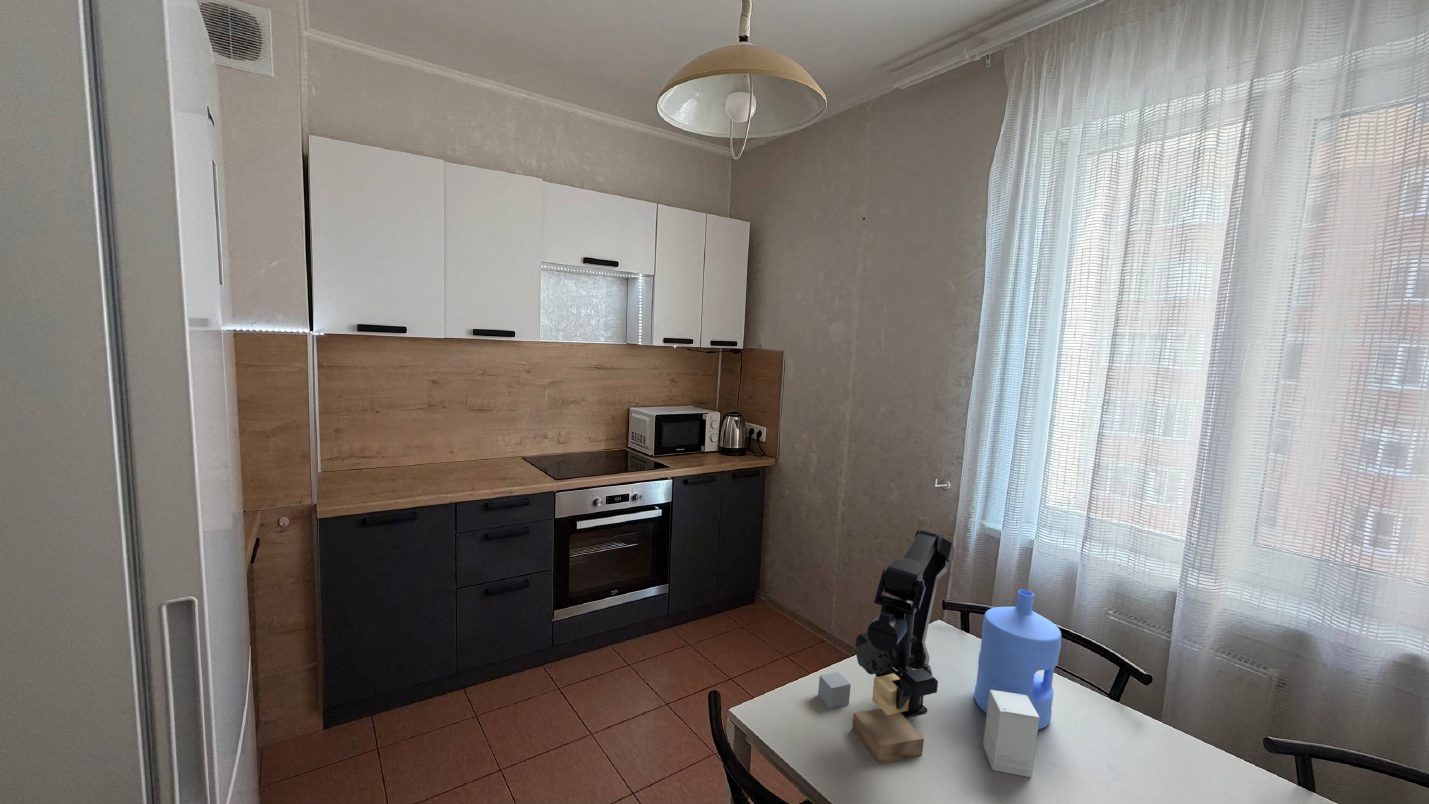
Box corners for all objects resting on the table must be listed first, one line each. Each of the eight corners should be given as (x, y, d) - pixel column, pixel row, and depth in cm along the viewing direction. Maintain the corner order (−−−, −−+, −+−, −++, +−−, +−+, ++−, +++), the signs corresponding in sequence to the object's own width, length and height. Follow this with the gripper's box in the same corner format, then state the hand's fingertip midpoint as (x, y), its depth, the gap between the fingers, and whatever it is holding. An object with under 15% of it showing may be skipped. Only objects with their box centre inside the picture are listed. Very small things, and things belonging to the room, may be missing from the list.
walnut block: (893, 723, 124) (894, 706, 124) (921, 756, 115) (923, 738, 114) (852, 730, 122) (853, 712, 121) (878, 764, 112) (879, 745, 112)
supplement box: (1032, 778, 110) (1041, 718, 109) (991, 770, 112) (999, 710, 110) (1020, 751, 118) (1028, 694, 116) (981, 744, 119) (988, 688, 117)
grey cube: (836, 691, 134) (838, 671, 134) (848, 704, 130) (850, 684, 129) (817, 695, 132) (819, 675, 132) (829, 709, 128) (831, 688, 127)
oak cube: (891, 695, 121) (894, 673, 120) (907, 710, 116) (910, 687, 115) (872, 699, 119) (874, 677, 118) (887, 715, 114) (890, 692, 113)
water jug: (975, 719, 127) (989, 599, 123) (972, 680, 141) (985, 572, 138) (1055, 741, 121) (1073, 616, 118) (1044, 699, 136) (1059, 586, 132)
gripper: (837, 612, 121) (831, 680, 123) (895, 661, 104) (887, 740, 106) (880, 605, 125) (874, 671, 127) (943, 651, 108) (935, 727, 110)
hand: (890, 700), depth 117 cm, fingers closed on oak cube, 5 cm apart
